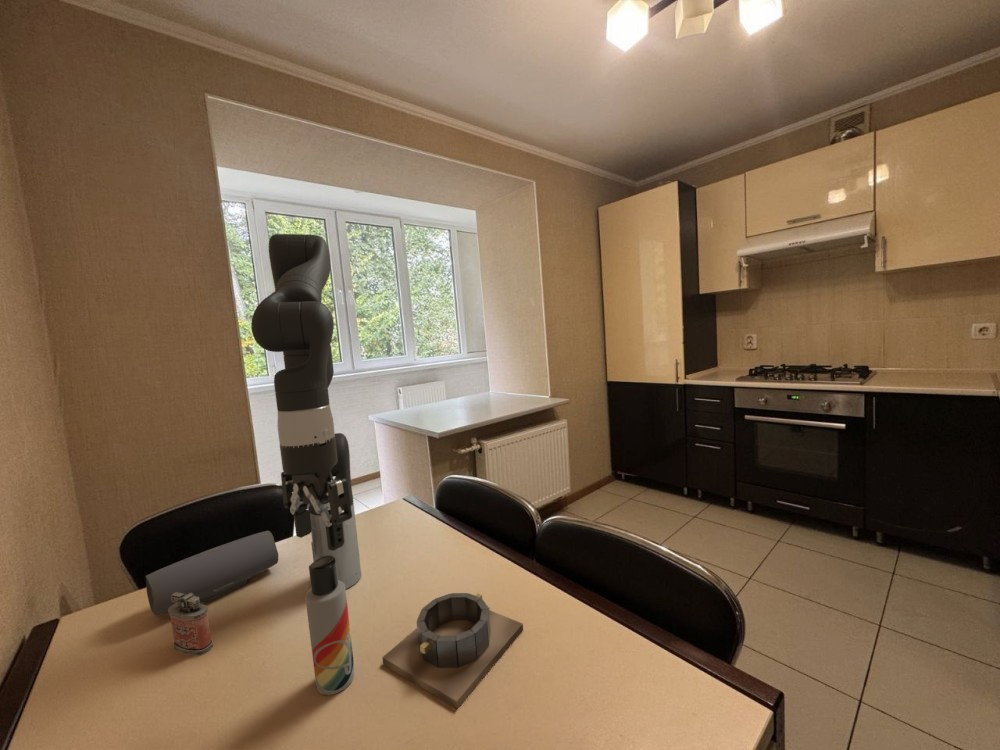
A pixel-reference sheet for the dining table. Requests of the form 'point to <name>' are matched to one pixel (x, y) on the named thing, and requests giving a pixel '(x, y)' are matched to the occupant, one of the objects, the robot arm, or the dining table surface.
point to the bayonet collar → (456, 647)
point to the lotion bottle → (329, 627)
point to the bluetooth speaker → (212, 571)
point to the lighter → (190, 625)
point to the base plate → (452, 681)
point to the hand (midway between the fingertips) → (319, 541)
